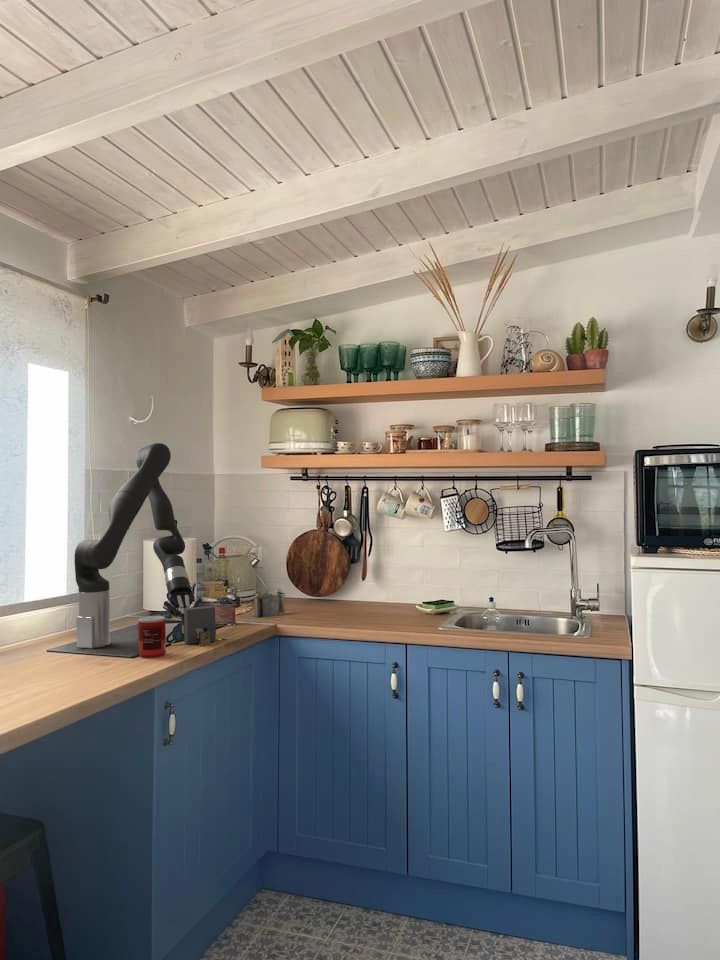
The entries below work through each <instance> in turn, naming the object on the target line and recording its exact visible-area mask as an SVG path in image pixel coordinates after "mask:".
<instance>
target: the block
mask: <svg viewBox="0 0 720 960" xmlns="http://www.w3.org/2000/svg"><path fill="white" fill-rule="evenodd" d="M216 626H217V625H216V620H215V606H213V605H206V606H199V607H190V608H184V635H183V636H184V638H183V639H184V643H186V644H188V645H189V644H191V645H192V644H197V643H198V644H199V637H197V635H196V629H203V630H204V631H209V632H210V642H217V641H216V639H217V638H216V637H217V636H216V635H217V634H216V631H217V628H216Z"/></svg>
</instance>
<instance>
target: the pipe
mask: <svg viewBox="0 0 720 960" xmlns="http://www.w3.org/2000/svg"><path fill="white" fill-rule="evenodd" d="M182 633H183V634H184V626H183V625H182V624H181V634H182ZM183 634H182V635H183ZM196 637H197V638H199V643H198V646H199V645H200V646H199V647H206V646H205V645H208V646H210V645H211V641H210V632H209V631H204V629H203V628H200V629H196ZM225 638H226V637H219V638H216V640H218V641H220V640H219V639H225ZM185 643H186V642H185V641H184V642H183V641H182V642H176V643H175V642H174V643H173V642H172V643H170V646H172V647H173V646H181V645H185Z"/></svg>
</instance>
